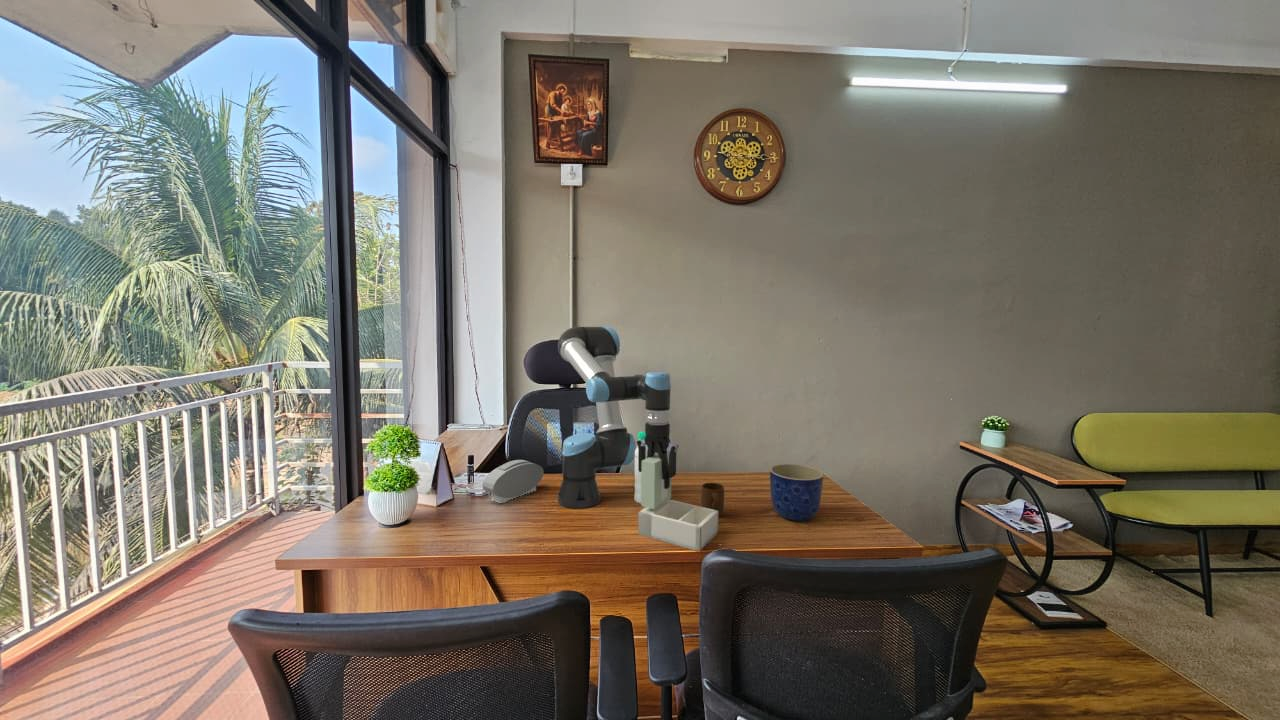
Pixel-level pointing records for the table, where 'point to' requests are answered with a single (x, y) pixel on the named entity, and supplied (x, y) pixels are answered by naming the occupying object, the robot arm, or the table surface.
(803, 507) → the planter
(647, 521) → the desk organizer
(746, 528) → the table surface
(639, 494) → the water bottle
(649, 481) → the pale green block
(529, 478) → the grey rounded oblong block
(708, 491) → the mug
